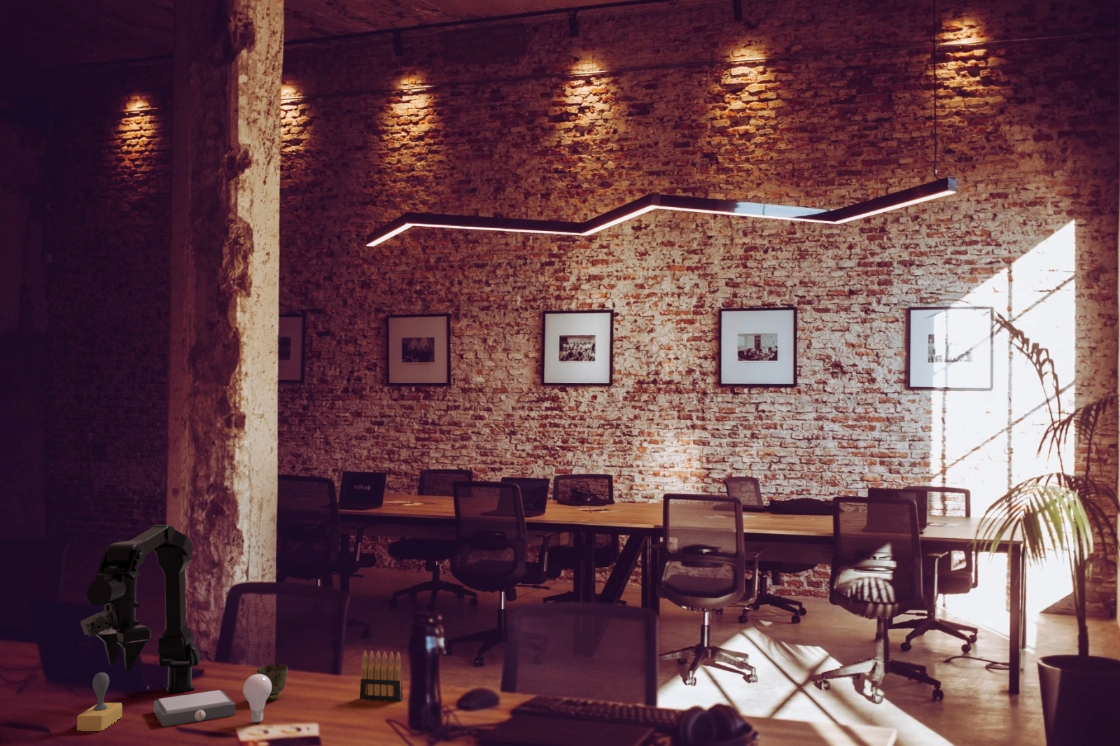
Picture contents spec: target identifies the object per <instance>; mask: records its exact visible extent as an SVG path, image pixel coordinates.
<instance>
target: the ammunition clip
mask: <svg viewBox="0 0 1120 746" xmlns="http://www.w3.org/2000/svg"><path fill="white" fill-rule="evenodd" d="M375 655H376V656H375V657H374V653H373V650H370V652H369V656H368V655H367V651H366V650H364V651H363V653H362V663H361V673H360V674H361V678H360V685H359V686H360V688H359V700H360V699H370V700H369V701H376V700H381V702H385V701H384V700H387V701H386V702H395V701H399V702H398V703H400V702H402V701H403V679H402V665H401V663H402V662H401V661H402V659H401V654H400V651H397V653H396V656H395V659H394V653H393V651H390V653H389V656H387V653H386V651H385V650H384V651H383V654H382V658H381V653H380V651H379V650H377V651H376V654H375ZM368 657H369V658H368ZM388 657H389V659H388ZM381 659H382V661H381ZM394 661H395V662H394Z"/></svg>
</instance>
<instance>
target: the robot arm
mask: <svg viewBox="0 0 1120 746" xmlns="http://www.w3.org/2000/svg"><path fill="white" fill-rule="evenodd" d="M193 550H194V547H193V543H192V541H191V540H190V538H189V537H188V536H187V535H186V534H184V533H182V532H180V531H178V530H176V529H175V527H174V526H173V525H171V524H154V525H151V526H150V528H149V529H148V530H146V531H144V532H142V533H140V534H139V535H137V536H136V537H134V538H132V539H130V540H125V541H118V542H114V543H111V544H109V545H108V547H107V549H106V550H105V552H104V554H103V556H102V559H101V561H100V564H99V567H98V569H97V572H96V575H95V577H96V578H95V580H94V581H92V582H91V583H90V584H89V586H88V588H87V590H86V598H87V600H88V601H89V603H90V604H91V605H94V606H97V607H100V606H103V611H100V612H97V613H94V614H93V615H91V616H89V617H86V618H84V619H82V620H81V621H80V625H81V629H82V632H83V634H84V635H85V636H88V637H95V636H96V637H98V638H99V639H100V640H101V641H102V642H103V645H104V649H105V652H106V656H107V660H108V663H109V665H110V666H112V665H116V662H117V660H118V657H119V653H120V650H121V649H122V651H123V652H122V653H123V660H124V661H123V662H124V670H125V671H126V672H131V671H132V669H133V668H134V666H135V663H136V662H137V660H138V658H139V656H140V654H141V652H142V650H143V649H144V646H145V645H146V643H148V642H149V640H151V639H152V629H150V628H149V626H146V625H142V624H139V623H140V621H139V620H137V619H136V615H137V614H136V613H137V612H136V609H137V608H140V602H137V583H138V581H137V579H138V577H140V576H141V572H140V571H139V570H138V569H139V567H140V566H141V565H142V564H143V563H144V562H145V556H146V555H147V554H149V553H151V552H153V553H154V554H156V561H157V564H158V566H159V568H160V569H161V571H162V572H163V573H164V595H165V596H164V599H165V601H164V602H165V603H164V604H165V630H164V632H163V634H162V635H161V636H160V637H159V638H158V640H157V642H158V648H157V655H158V660H159V665H160V667H161V668H163V667H167V685H168V687H167V688H166V689H165V690H167V691H166V692H167V693H168V694H174V693H179V692H186V691H193V690H194V691H195V689H196V687H195V686H194V685H193V683H192V677H193V676H192V673H193V671H192V668H193V667H195V666H199V664H200V661H201V653H200V651H199V650H198V648H197V646H196V645H195V643H194V640H195V639H194V635H193V633H192V631H191V630H190V629H189V627H188V626H187V608H186V607H187V604H186V598H187V597H186V569H187V568H188V565H189V564H190V562H191V561H192V554H193ZM124 608H126V609H124Z"/></svg>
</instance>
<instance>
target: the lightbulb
mask: <svg viewBox="0 0 1120 746" xmlns="http://www.w3.org/2000/svg"><path fill="white" fill-rule="evenodd" d="M271 690H272V684H271V681H270V679H269V678H268V677H267V676H265V675H263V674H257V673H256V674H253V675H250V676H249V677H248V678H247V679H246V680H245V681H244V683H243V688H242V693H243V695H244V698H245V699H246V700H247V702H248V705H249V708H250V712H251V714H250V715H251V716H250V719H251V720H250V721H251V722H252V723H255V724H260V723H261V722H262V721H263V720H264V709H265V705H266V702H267V701H268V700H267V698H268V697H269V695H270V693H271Z"/></svg>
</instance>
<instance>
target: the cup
mask: <svg viewBox="0 0 1120 746" xmlns="http://www.w3.org/2000/svg"><path fill="white" fill-rule="evenodd" d="M288 670H289V665H286V663H284V664H282V663H279V665H278V666H275V663H272V664H271V663H268V664H267V665H266V666H265V665H264V664H262V667H261V666H260V665H259V667H257V668H256V672H257V673H256V674H263V675H265V676H267V677H268V678H269V679H270V681H271V684H272V690H271V693H270V695H269V697H268V698H267V700H266V701H271V702H272V701H276V700H278V699H279V698H280V696H281V695H280V694H281V692H282V691H283V690H284V689H285V686H286V683H287V678H288V677H287V676H288Z"/></svg>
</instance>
